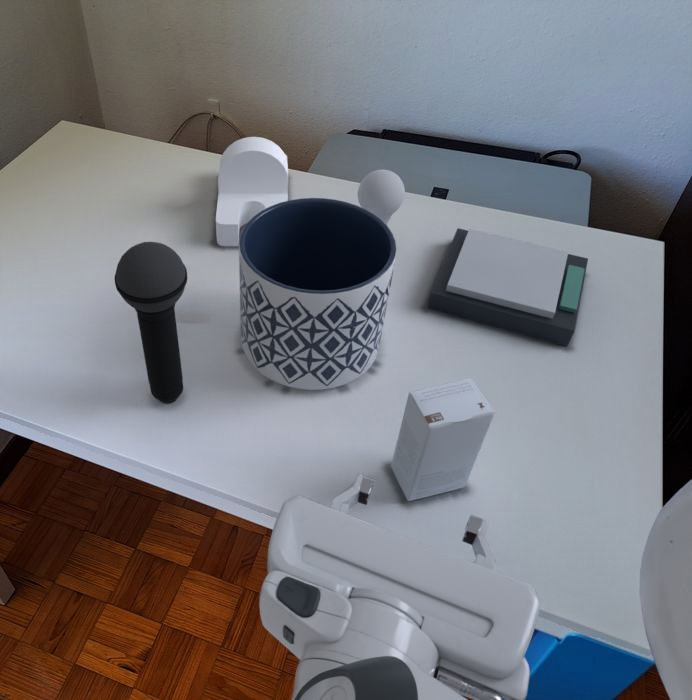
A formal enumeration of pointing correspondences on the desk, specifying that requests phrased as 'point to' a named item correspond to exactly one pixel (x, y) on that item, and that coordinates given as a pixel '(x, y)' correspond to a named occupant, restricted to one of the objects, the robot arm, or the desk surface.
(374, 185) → the light bulb
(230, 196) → the white u-slot block
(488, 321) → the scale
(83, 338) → the desk surface
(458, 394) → the cosmetic box
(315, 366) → the planter
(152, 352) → the microphone
